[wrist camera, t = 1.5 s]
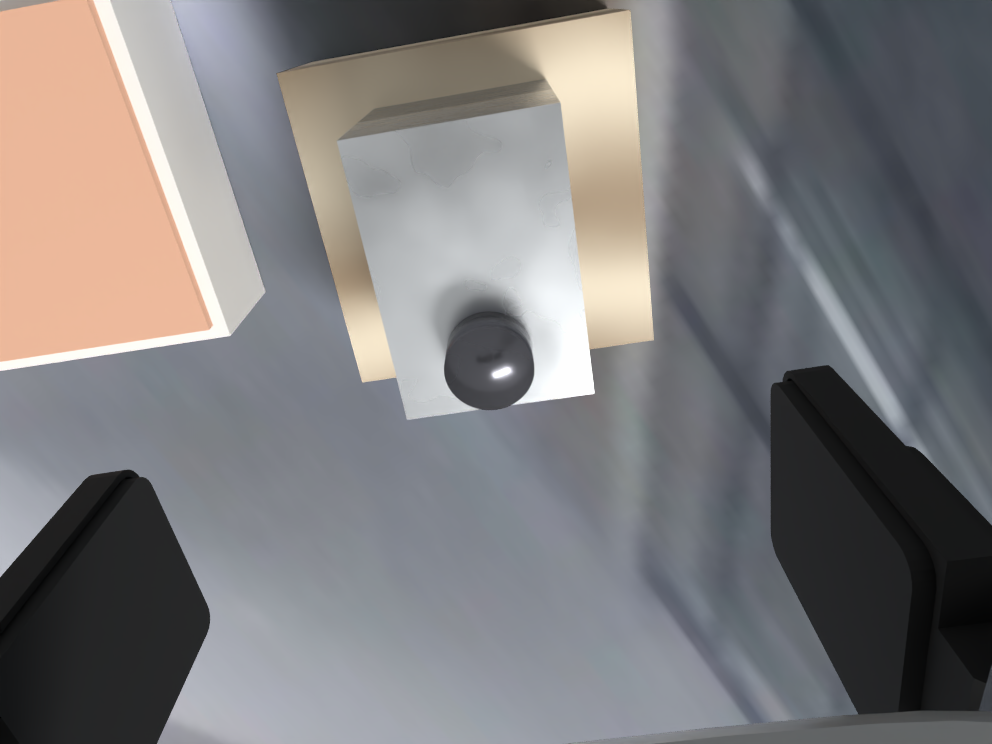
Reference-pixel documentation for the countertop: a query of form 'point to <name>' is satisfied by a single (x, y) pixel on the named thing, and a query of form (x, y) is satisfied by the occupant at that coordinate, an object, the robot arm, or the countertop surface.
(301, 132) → the stand
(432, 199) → the housing
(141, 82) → the stand
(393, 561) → the countertop surface
